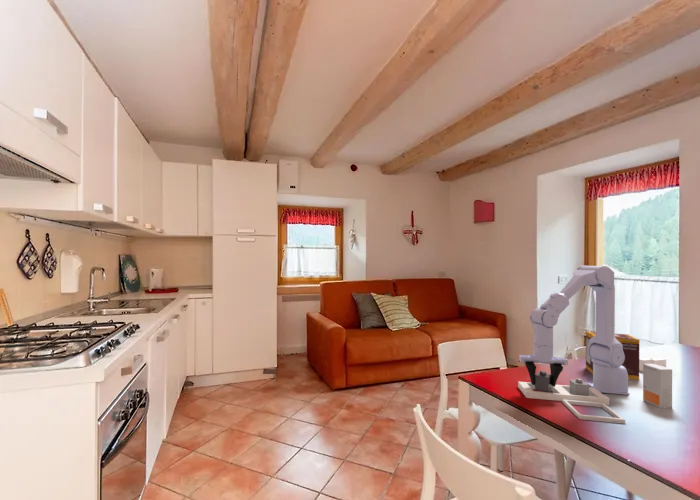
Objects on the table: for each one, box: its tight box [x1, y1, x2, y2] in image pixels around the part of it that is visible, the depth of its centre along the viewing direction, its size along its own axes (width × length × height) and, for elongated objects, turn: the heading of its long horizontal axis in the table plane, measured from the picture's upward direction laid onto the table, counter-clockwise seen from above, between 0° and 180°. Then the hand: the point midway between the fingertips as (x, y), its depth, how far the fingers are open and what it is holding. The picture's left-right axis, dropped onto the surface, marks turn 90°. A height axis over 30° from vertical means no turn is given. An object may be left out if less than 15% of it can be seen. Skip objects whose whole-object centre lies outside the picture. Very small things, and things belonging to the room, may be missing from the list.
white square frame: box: [562, 399, 626, 424], centre depth 103 cm, size 12×12×1 cm
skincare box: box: [642, 364, 673, 409], centre depth 111 cm, size 6×4×12 cm
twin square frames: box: [517, 381, 610, 406], centre depth 116 cm, size 24×10×2 cm, turn 79°
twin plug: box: [569, 377, 590, 396], centre depth 115 cm, size 4×4×6 cm
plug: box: [534, 370, 551, 393], centre depth 117 cm, size 4×4×6 cm
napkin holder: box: [639, 357, 667, 373], centre depth 146 cm, size 15×11×6 cm
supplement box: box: [585, 330, 640, 381], centre depth 141 cm, size 10×15×16 cm
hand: (542, 384), depth 117 cm, fingers closed on plug, 5 cm apart
